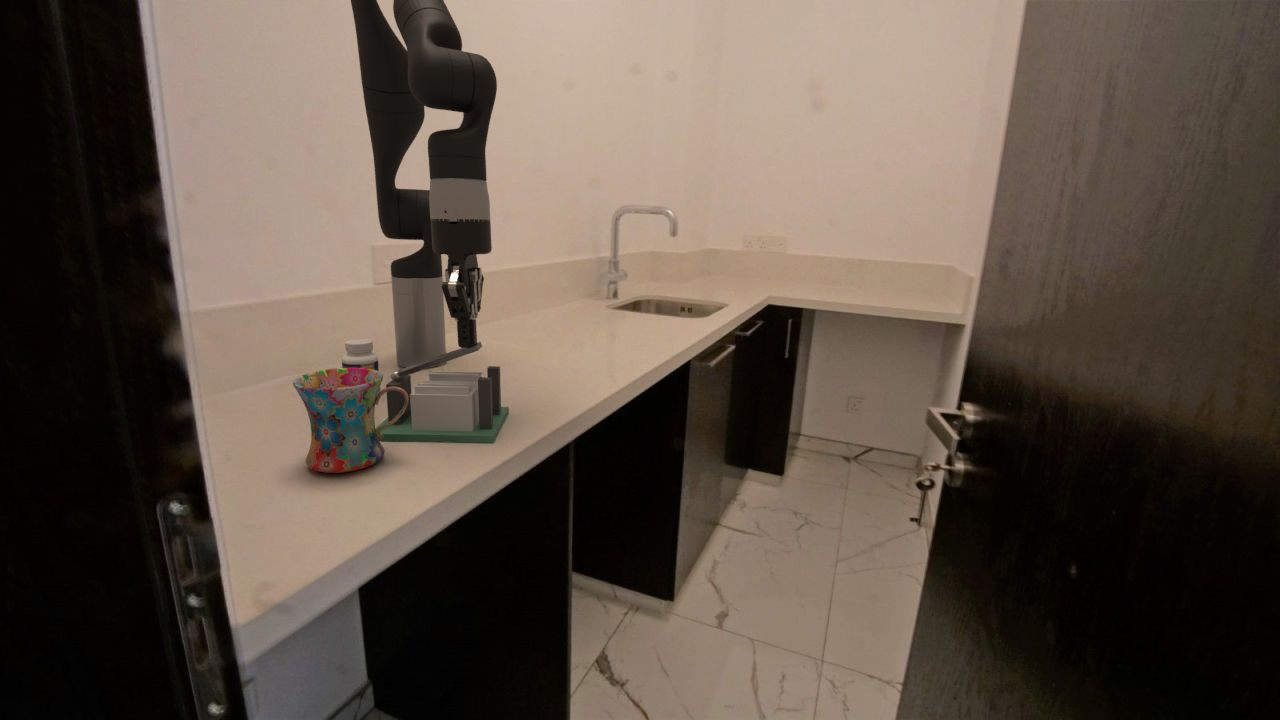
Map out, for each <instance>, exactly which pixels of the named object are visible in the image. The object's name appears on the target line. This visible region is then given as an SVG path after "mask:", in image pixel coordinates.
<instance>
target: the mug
mask: <svg viewBox="0 0 1280 720" xmlns="http://www.w3.org/2000/svg"><path fill="white" fill-rule="evenodd" d="M383 379H384V374H383V373H382V372H380V371H377V370H373V369H367V368H342V367H338V368H327V369H321V370H318V371H316V370H315V371H312V372H309V373H305V374H302V375H300V376H298V377H296V378H295V379H294V380H293V382H292V386H293V387H294V389H295V390H296V392H297V394H298V395H299V397H300V398H301V401H302V402H303V405H304V407H305V410H306V412H307V415H308V420H309V425H310V434H311V435H310V436H311V438H310V439H311V440H310V447H309V451H308V453H307V456H306V458H305V465H306V466H307V467H308V468H310V469H311V470H313V471H316V472H319V473H320V472H321V473H327V474H328V473H330V474H338V473H339V474H341V473H348V472H354V471H358V470H361V469H366V468H367V467H370V466H372V465H374V464H376V463H378V462H379V461H380V460H381V459H383V457H384V455H385V453H386V451H385V450H386V449H385V446H383V444H382V442H381V441H379V438H381V439H383V438H384V435H382V434H381V433H380V431H382V430H384V429H386V428H387V427H389V426H391V425H392V424H393V423H395V422H396V421H397V420H398V419H399V418H400V417H401V415H402V414H403V413H404V411H405V409H406V407H407V405H408V399H409V398H408V394H407V392H406V391H405V390H404V389H402V388H400V387H394V386H393V387H388V388H386V387H385V388H384V389H382V390H380V393H379V394H378V395H377V393H378V390H379V387H380V388H381V384H382V382H383ZM391 390H396V391H399V392H401V393H402V394H403V395H404V397H405V402H404V406H403V408H402V409H401V411H400V412H399V414H398V415H397V416H396V417H395V418H394V419H393V420H391V421H390V422H388V423H387V424H385V425H383V426H381V427H380V428H378V429H377V430H376V422H375V407H376V406H378V405H379V402H380V399H381V397H382V396H383V395H384V394H385V393H386V392H387V391H391ZM378 437H379V438H378Z"/></svg>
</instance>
